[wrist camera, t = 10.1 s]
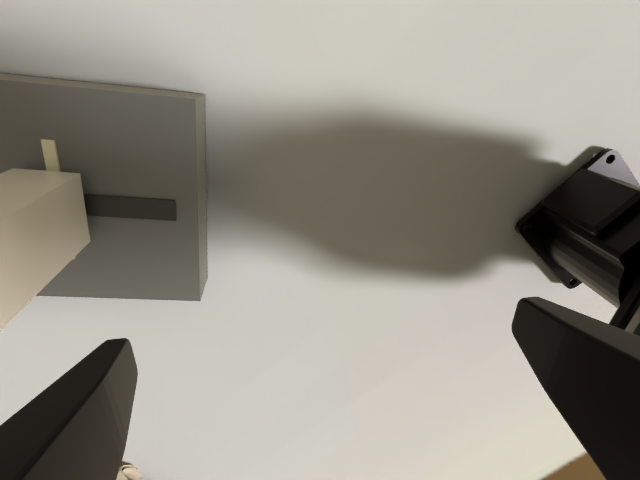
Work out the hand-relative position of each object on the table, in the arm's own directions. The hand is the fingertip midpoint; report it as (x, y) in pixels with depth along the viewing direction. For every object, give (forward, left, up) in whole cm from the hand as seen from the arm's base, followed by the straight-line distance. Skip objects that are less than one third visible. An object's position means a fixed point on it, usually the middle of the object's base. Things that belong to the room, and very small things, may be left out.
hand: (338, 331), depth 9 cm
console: (+9, +9, -13) cm, 18 cm away
